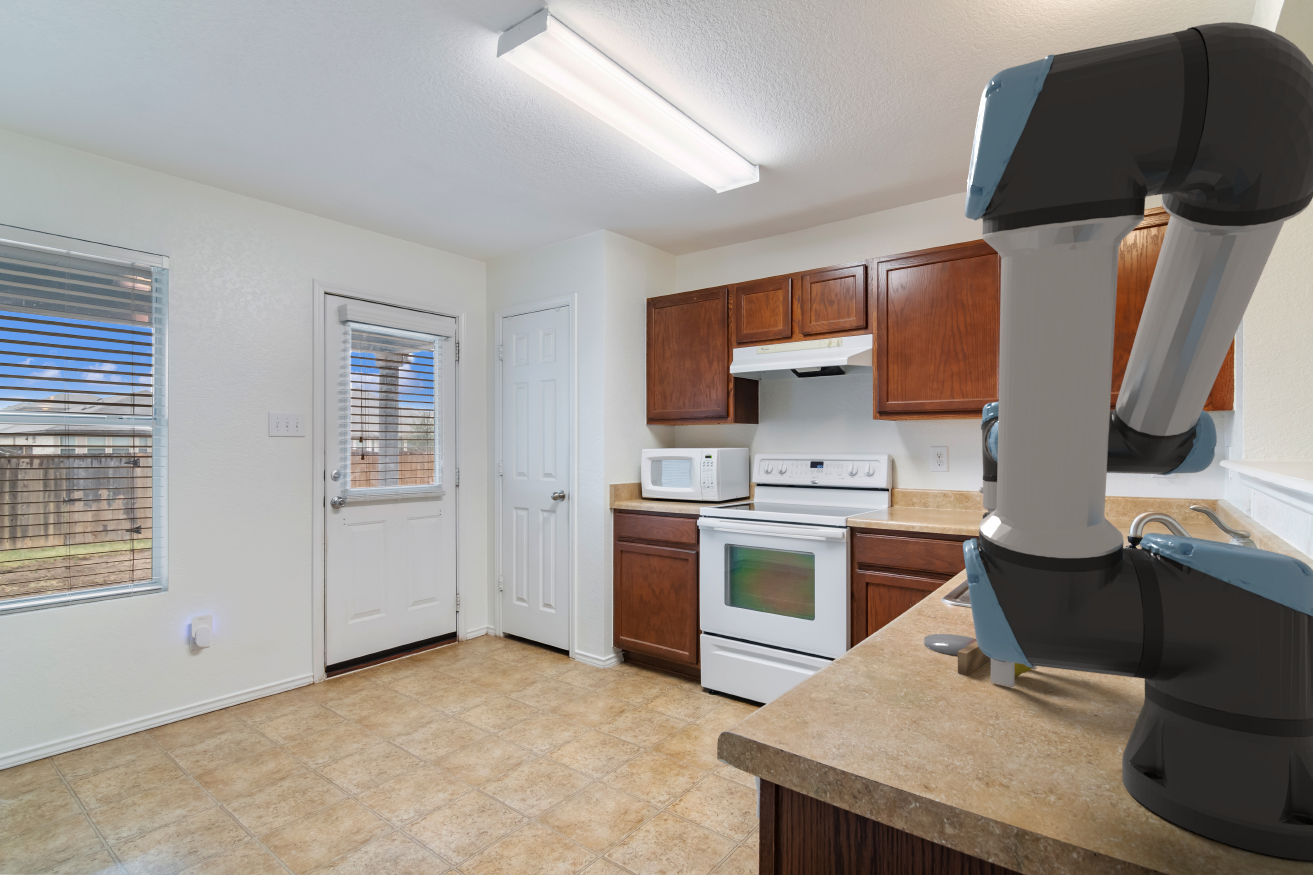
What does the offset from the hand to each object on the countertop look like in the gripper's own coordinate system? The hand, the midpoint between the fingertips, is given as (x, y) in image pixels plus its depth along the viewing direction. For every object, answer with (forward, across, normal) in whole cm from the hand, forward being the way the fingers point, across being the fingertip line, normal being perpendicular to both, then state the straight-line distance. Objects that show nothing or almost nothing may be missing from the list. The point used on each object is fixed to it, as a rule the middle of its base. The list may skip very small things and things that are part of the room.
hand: (1014, 674), depth 88 cm
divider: (0, -5, -5) cm, 7 cm away
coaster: (0, -8, -11) cm, 13 cm away
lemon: (0, 0, 0) cm, 0 cm away
